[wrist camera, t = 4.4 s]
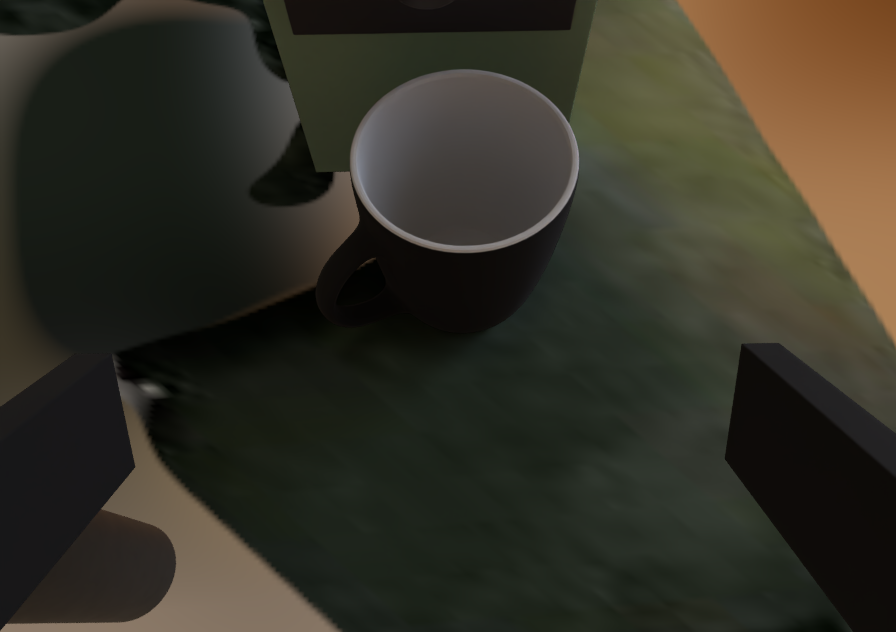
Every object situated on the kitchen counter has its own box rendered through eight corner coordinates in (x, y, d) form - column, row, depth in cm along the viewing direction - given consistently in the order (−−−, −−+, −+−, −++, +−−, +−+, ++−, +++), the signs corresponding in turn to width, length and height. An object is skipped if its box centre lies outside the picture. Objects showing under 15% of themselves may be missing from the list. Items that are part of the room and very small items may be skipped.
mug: (478, 181, 37) (486, 36, 27) (582, 295, 33) (630, 173, 24) (295, 292, 34) (235, 170, 24) (390, 427, 30) (362, 346, 21)
